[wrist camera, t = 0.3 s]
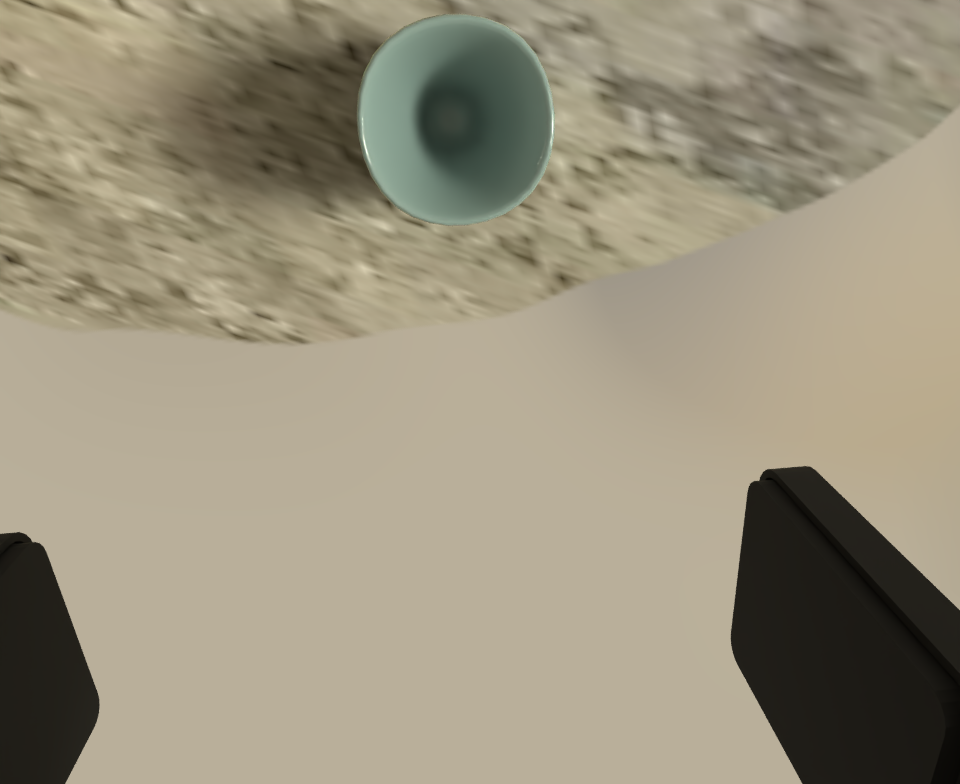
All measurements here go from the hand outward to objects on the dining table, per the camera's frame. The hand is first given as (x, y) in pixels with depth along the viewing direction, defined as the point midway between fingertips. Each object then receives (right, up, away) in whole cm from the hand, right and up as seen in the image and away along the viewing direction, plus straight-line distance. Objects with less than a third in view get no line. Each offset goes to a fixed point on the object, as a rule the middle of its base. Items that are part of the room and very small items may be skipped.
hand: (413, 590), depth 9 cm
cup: (-1, +17, +27) cm, 32 cm away
